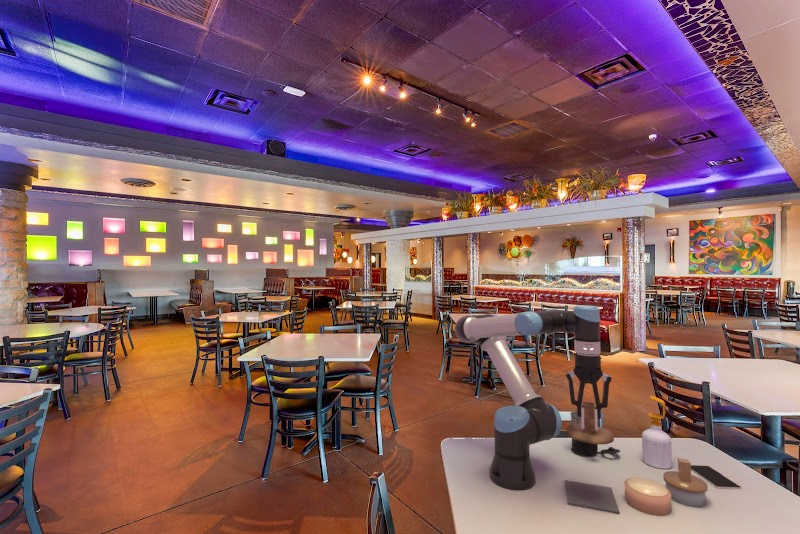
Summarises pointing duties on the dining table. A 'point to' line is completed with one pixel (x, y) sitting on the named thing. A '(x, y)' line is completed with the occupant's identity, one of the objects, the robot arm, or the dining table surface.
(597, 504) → the rubber mat
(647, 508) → the terracotta bowl
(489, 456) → the dining table surface
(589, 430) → the walnut lid
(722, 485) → the smartphone
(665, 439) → the soap bottle
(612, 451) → the milk frother
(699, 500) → the slate bowl covered
